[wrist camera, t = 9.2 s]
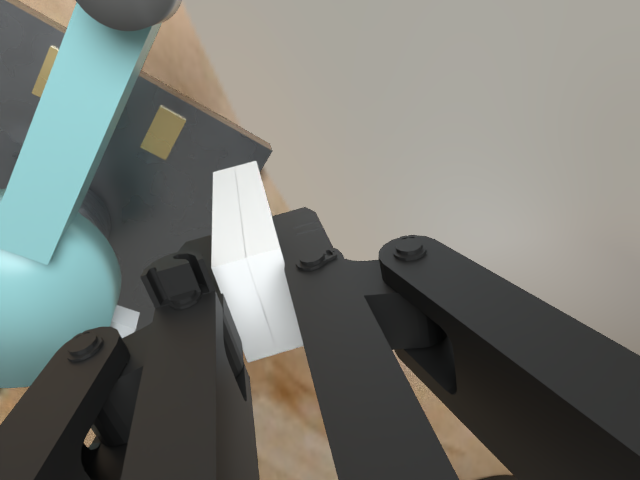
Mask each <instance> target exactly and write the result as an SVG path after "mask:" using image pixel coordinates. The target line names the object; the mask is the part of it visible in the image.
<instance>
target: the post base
mask: <svg viewBox="0 0 640 480" xmlns="http://www.w3.org/2000/svg"><path fill="white" fill-rule="evenodd" d="M66 30H67V28H66V27H64V26H62V25H60V24H59V23H57V22H55V21H53V20H52V19H50V18H48V17H46V16H45V15H43V14H41V13H39V12H38V11H36V10H34V9H32V8H30V7H29V6H27V5H25V4H23V3H22V2H20V1H18V0H0V189H6V188H7V185H8V183H9V180H10V178H11V175H12V172H13V170H14V167H15V164H16V162H17V159H18V156H19V154H20V151H21V149H22V146H23V143H24V141H25V138H26V135H27V133H28V130H29V127H30V125H31V122H32V119H33V117H34V114H35V112H36V109H37V106H38V104H39V101H40V98H41V96H42V93H43V90H44V88H45V85H46V83H47V80H48V77H49V75H50V72H51V69H52V67H53V64H54V61H55V59H56V56H57V54H58V51H59V48H60V46H61V43H62V40H63V38H64V35H65V32H66ZM271 152H272V148H271V146H270V144H269V143H267V142H266V141H264V140H262V139H260V138H259V137H257V136H255V135H253V134H252V133H250V132H248V131H247V130H245V129H243V128H241V127H240V126H238V125H236V124H234V123H232V122H231V121H229V120H227V119H225V118H224V117H222V116H220V115H218V114H217V113H215V112H213V111H211V110H210V109H208V108H206V107H204V106H203V105H201V104H199V103H197V102H196V101H194V100H192V99H190V98H189V97H187V96H185V95H183V94H182V93H180V92H178V91H176V90H175V89H173V88H171V87H169V86H167V85H166V84H164V83H162V82H160V81H159V80H157V79H155V78H153V77H152V76H150V75H148V74H146V73H145V72H143V71H140V73H139V76H138V78H137V80H136V82H135V85H134V87H133V89H132V91H131V94H130V96H129V98H128V100H127V103H126V105H125V107H124V110H123V112H122V114H121V116H120V119H119V121H118V123H117V125H116V128H115V130H114V132H113V134H112V137H111V139H110V141H109V143H108V146H107V148H106V150H105V152H104V155H103V157H102V159H101V161H100V164H99V166H98V168H97V171H96V173H95V175H94V177H93V180H92V182H91V184H90V186H89V189H88V191H87V193H86V195H85V198H84V200H83V202H82V204H81V207H80V209H79V211H78V213H80V214H81V215H83V216H84V217H85V218H86V219H88V220H89V221H90V222H91V223H92V224H93V225H94V226H96V227H97V228H98V229H99V230H100V232H101V233H102V234H103V235H104V236H105V238H106V239H107V240H108V242H109V244H110V245H111V247H112V248H113V250H114V253H115V255H116V257H117V259H118V263H119V267H120V271H121V291H120V295H119V300H118V303H117V305H119V306H122V307H125V308H128V309H131V310H134V311H137V312H140V314H139V318H138V322H137V326H136V330H135V331H134V332H136V331H138V330H140V329H142V328H143V327H145V326H147V325H149V324H150V323H152V321H153V316H154V311H155V307H154V305H153V303H152V301H151V299H150V297H149V294H148V292H147V290H146V288H145V286H144V284H143V282H142V280H141V278H140V276H141V274H142V272H143V271H144V269H146V268H147V267H148V266H149V265H150V264H151V263H153V262H155V261H157V260H158V259H160V258H162V257H164V256H167V255H170V254H172V253H176V252H178V251H179V250H180V248H181V247H182V246H183V245H184V244H185V242H187V241H191V240H194V239H198V238H202V237H205V236H209V235H212V201H213V172H216V171H219V170H223V169H227V168H231V167H234V166H238V165H242V164H245V163H249V162H253V161H256V162H257V165H258V169H259V172H260V171H261V169H262V168H263V166H264V164H265V163H266V161H267V159H268V157H269V156H270V154H271Z"/></svg>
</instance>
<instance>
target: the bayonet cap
mask: <svg viewBox="0 0 640 480" xmlns="http://www.w3.org/2000/svg"><path fill="white" fill-rule="evenodd" d="M181 1H182V0H76V2H77V3H76V6H75V9H74V11H73V14H72V17H71V19H70V22H69V24H68V27H67V30H66V32H65V35H64V38H63V40H62V43H61V46H60V48H59V51H58V54H57V56H56V59H55V61H54V64H53V67H52V69H51V72H50V75H49V77H48V80H47V83H46V85H45V88H44V90H43V93H42V96H41V98H40V101H39V104H38V106H37V109H36V112H35V114H34V117H33V119H32V122H31V125H30V127H29V130H28V133H27V135H26V138H25V141H24V143H23V146H22V149H21V151H20V154H19V156H18V159H17V162H16V164H15V167H14V170H13V172H12V175H11V178H10V180H9V183H8V185H7V188H6V189H0V388H17V387H28V386H31V384H32V383H33V382H34V380H35V379H36V378H37V376H38V375H39V374H40V373H41V371H42V370H43V369H44V367H45V366H46V365H47V363H48V362H49V361H50V359H51V358H52V357H53V355H54V354H55V353H56V352H57V351H58V350H59V349H60V348H61V347H62V346H63V345H64V344H65V343H66V342H68V341H69V340H71V339H72V338H73V337H74V336H76V335H77V334H79V333H83V332H84V331H86V330H89V329H94V328H98V327H113V328H115V329H117V330H118V332H119V334H120V335H121V337H122V338H124V337H126V336H128V335H130V334H132V333H134V331H135V330H136V326H137V322H138V318H139V314H140V312H137V311H134V310H131V309H128V308H125V307H122V306H119V305H117V303H118V300H119V295H120V291H121V271H120V267H119V263H118V259H117V257H116V255H115V253H114V250H113V248H112V247H111V245H110V244H109V242H108V240H107V239H106V238H105V236H104V235H103V234H102V233H101V232H100V230H99V229H98V228H97V227H96V226H94V225H93V224H92V223H91V222H90V221H89V220H88V219H86V218H85V217H84V216H83V215H81V214H80V213H78V211H79V209H80V207H81V204H82V202H83V200H84V198H85V195H86V193H87V191H88V189H89V186H90V184H91V182H92V180H93V177H94V175H95V173H96V171H97V168H98V166H99V164H100V161H101V159H102V157H103V155H104V152H105V150H106V148H107V146H108V143H109V141H110V139H111V137H112V134H113V132H114V130H115V128H116V125H117V123H118V121H119V119H120V116H121V114H122V112H123V110H124V107H125V105H126V103H127V100H128V98H129V96H130V94H131V91H132V89H133V87H134V85H135V82H136V80H137V78H138V76H139V73H140V71H141V69H142V67H143V64H144V62H145V60H146V58H147V55H148V53H149V51H150V48H151V46H152V44H153V42H154V39H155V37H156V35H157V33H158V30H159V28H160V26H161V24H162V22H164V21H166V20H168V19H169V18H171V17H172V16H173V15H174V14H175V13H176V11H177V10H178V8H179V6H180V4H181Z"/></svg>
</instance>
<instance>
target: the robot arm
mask: <svg viewBox="0 0 640 480" xmlns="http://www.w3.org/2000/svg"><path fill="white" fill-rule="evenodd" d="M140 278H141V280H142V282H143V284H144V286H145V288H146V290H147V292H148V294H149V297H150V299H151V301H152V303H153V305H154V307H155V311H154V316H153V321H152V323H150V324H149V325H147V326H145V327H143V328H142V329H140V330H138V331H136V332H134V333H132V334H130V335H128V336H126V337H124V338H122V337H121V335H120V334H119V332H118V330H117V329H115V328H113V327H98V328H94V329H89V330H86V331H84V332H83V333H79V334H77V335H76V336H74V337H73V338H72V339H71V340H69V341H68V342H66V343H65V344H64V345H63V346H62V347H61V348H60V349H59V350H58V351H57V352H56V353H55V354H54V355H53V357H52V358H51V359H50V361H49V362H48V363H47V365H46V366H45V367H44V369H43V370H42V371H41V373H40V374H39V375H38V376H37V378H36V379H35V380H34V382H33V383H32V384H31V386H30V387H29V388H28V390H27V391H26V392H25V394H24V395H23V396H22V397H21V399H20V400H19V401H18V403H17V404H16V405H15V407H14V408H13V409H12V411H11V412H10V413H9V415H8V416H7V417H6V418H5V420H4V421H3V422H2V424H1V425H0V480H259V470H258V459H257V449H256V438H255V428H254V418H253V407H252V397H251V387H250V377H249V375H248V372H247V370H246V367H245V365H244V362H243V352H244V354H245V357H246V360H247V362H248V363H249V362H252V361H255V360H258V359H262V358H265V357H268V356H272V355H275V354H278V353H281V352H285V351H288V350H291V349H294V348H298V347H301V346H304V349H305V352H306V356H307V360H308V364H309V368H310V372H311V375H312V379H313V383H314V387H315V391H316V395H317V398H318V402H319V406H320V410H321V414H322V418H323V422H324V425H325V429H326V433H327V437H328V441H329V445H330V448H331V452H332V456H333V460H334V464H335V468H336V472H337V475H338V479H339V480H459V478H458V476H457V475H456V473H455V471H454V469H453V467H452V465H451V463H450V461H449V459H448V457H447V455H446V453H445V451H444V449H443V448H442V446H441V444H440V442H439V440H438V438H437V436H436V434H435V432H434V430H433V428H432V426H431V424H430V423H429V421H428V419H427V417H426V415H425V413H424V411H423V409H422V407H421V405H420V403H419V401H418V399H417V397H416V396H415V394H414V392H413V390H412V388H411V386H410V384H409V382H408V380H407V378H406V376H405V374H404V372H403V370H402V369H401V367H400V365H399V363H398V361H397V359H396V357H395V355H394V353H393V351H392V350H395V352H396V354H397V356H398V357H399V359H400V360H401V361H402V362H403V363H404V364H405V365H406V366H407V367H408V368H409V369H410V370H411V371H412V372H413V373H414V374H415V375H416V376H417V377H418V378H419V379H420V380H421V381H422V382H423V383H424V384H425V385H426V386H427V387H428V388H429V389H430V390H431V391H432V392H433V393H434V394H435V395H436V396H437V397H438V398H439V399H440V400H441V401H442V402H443V403H444V404H445V405H446V407H447V408H448V409H449V410H450V411H451V412H452V413H453V414H454V415H455V416H456V417H457V418H458V419H459V420H460V421H461V422H462V423H463V424H464V425H465V426H466V427H467V428H468V429H469V430H470V431H471V432H472V433H473V434H474V435H475V436H476V437H477V438H478V439H479V440H480V441H481V442H482V443H483V444H484V445H485V446H486V447H487V448H488V449H489V450H490V451H491V452H492V453H493V454H494V455H495V456H496V457H497V458H498V460H499V461H500V462H501V463H502V464H503V465H504V466H505V467H506V468H507V469H508V470H509V471H510V472H511V473H512V474H513V475H514V476H496V477H490V478H486V479H482V480H640V356H639V355H637V354H636V353H634V352H632V351H630V350H628V349H627V348H625V347H623V346H622V345H620V344H618V343H616V342H615V341H613V340H611V339H609V338H608V337H606V336H604V335H602V334H601V333H599V332H597V331H595V330H593V329H592V328H590V327H588V326H586V325H585V324H583V323H581V322H579V321H577V320H576V319H574V318H572V317H571V316H569V315H567V314H565V313H563V312H562V311H560V310H558V309H557V308H555V307H553V306H551V305H549V304H548V303H546V302H544V301H542V300H541V299H539V298H537V297H535V296H534V295H532V294H530V293H528V292H526V291H525V290H523V289H521V288H519V287H518V286H516V285H514V284H512V283H511V282H509V281H507V280H505V279H504V278H502V277H500V276H498V275H497V274H495V273H493V272H491V271H490V270H488V269H486V268H484V267H483V266H481V265H479V264H477V263H475V262H474V261H472V260H470V259H468V258H467V257H465V256H463V255H461V254H460V253H458V252H456V251H454V250H453V249H451V248H449V247H447V246H446V245H444V244H442V243H440V242H438V241H437V240H435V239H432V238H429V237H426V236H417V235H409V236H402V237H400V238H397V239H394V240H391V241H390V242H388V243H386V244H385V245H384V246H383V247H382V248H381V249H380V251H379V260H372V261H351V260H347V259H344V257H343V255H342V253H341V252H340V251H339V250H338V249H335V248H333V246H332V244H331V242H330V240H329V238H328V237H327V235H326V232H325V230H324V228H323V227H322V224H321V222H320V221H319V218H318V217H317V214H316V213H315V212H314V211H312V210H310V209H308V208H306V207H304V208H300V209H297V210H293V211H289V212H286V213H282V214H279V215H275V216H272V214H271V210H270V207H269V203H268V200H267V196H266V193H265V189H264V186H263V182H262V179H261V175H260V172H259V169H258V165H257V162H256V161H253V162H249V163H245V164H242V165H238V166H234V167H231V168H227V169H223V170H219V171H216V172H213V201H212V235H209V236H205V237H202V238H198V239H194V240H191V241H187V242H185V244H184V245H183V246H182V247H181V248H180V250H179V251H178V252H176V253H172V254H170V255H167V256H164V257H162V258H160V259H158V260H157V261H155V262H153V263H151V264H150V265H149V266H148V267H147V268H146V269H144V271H143V272H142V274H141V276H140ZM242 349H243V350H242ZM90 428H91V429H92V430H93V432H94V433H95V435H96V437H95V439H94V440H93V442H92V444H91V445H90V446H89V448H88V447H86V446H85V444H84V443H83V442H84V439H85V437H86V435H87V433H88V432H89V430H90Z"/></svg>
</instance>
